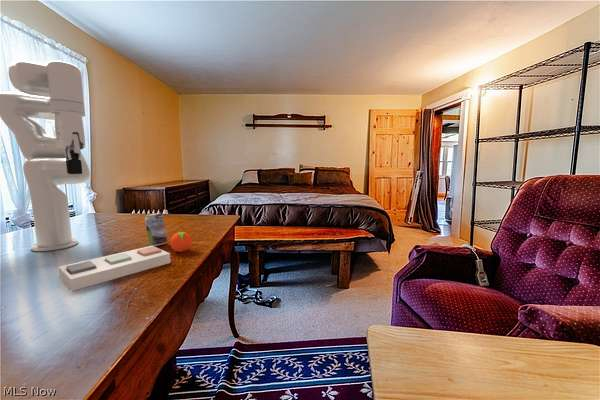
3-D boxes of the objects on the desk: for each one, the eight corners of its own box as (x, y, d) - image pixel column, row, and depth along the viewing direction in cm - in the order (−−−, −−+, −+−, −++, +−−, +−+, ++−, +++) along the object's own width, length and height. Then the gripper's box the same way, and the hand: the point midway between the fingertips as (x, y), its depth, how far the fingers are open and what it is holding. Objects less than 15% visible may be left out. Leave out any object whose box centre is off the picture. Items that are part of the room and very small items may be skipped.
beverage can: (159, 248, 97) (157, 215, 96) (142, 246, 99) (139, 214, 97) (171, 243, 104) (169, 212, 102) (154, 241, 105) (152, 211, 103)
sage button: (105, 267, 78) (104, 257, 77) (125, 262, 82) (124, 253, 81) (112, 272, 75) (111, 261, 74) (131, 266, 79) (131, 256, 78)
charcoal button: (67, 277, 71) (66, 266, 71) (90, 271, 75) (89, 260, 75) (72, 282, 68) (71, 271, 68) (96, 276, 72) (95, 265, 72)
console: (59, 277, 73) (58, 266, 72) (152, 254, 91) (152, 245, 91) (72, 291, 65) (70, 279, 65) (170, 262, 84) (170, 253, 84)
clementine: (194, 253, 92) (193, 233, 91) (171, 257, 89) (170, 236, 88) (190, 247, 99) (190, 228, 98) (170, 249, 96) (168, 230, 95)
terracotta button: (137, 259, 85) (137, 250, 84) (154, 255, 88) (153, 246, 88) (144, 263, 81) (144, 253, 81) (161, 258, 85) (161, 249, 85)
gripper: (44, 110, 79) (52, 173, 82) (57, 104, 70) (65, 175, 73) (77, 113, 85) (83, 172, 88) (92, 108, 76) (98, 174, 79)
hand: (74, 173), depth 80 cm, fingers closed
